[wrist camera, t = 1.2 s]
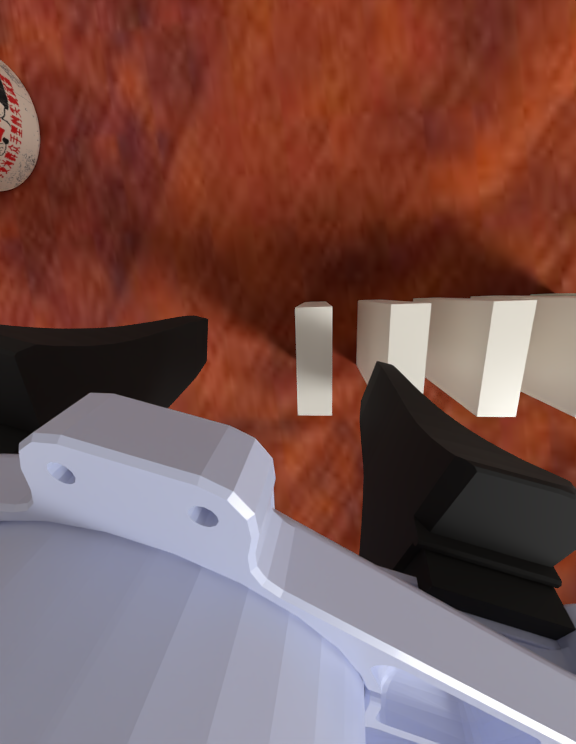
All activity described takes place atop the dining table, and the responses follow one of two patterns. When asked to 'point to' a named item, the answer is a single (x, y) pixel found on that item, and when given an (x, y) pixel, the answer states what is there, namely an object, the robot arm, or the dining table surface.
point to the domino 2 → (393, 337)
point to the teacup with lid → (16, 131)
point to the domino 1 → (314, 358)
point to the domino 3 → (479, 351)
